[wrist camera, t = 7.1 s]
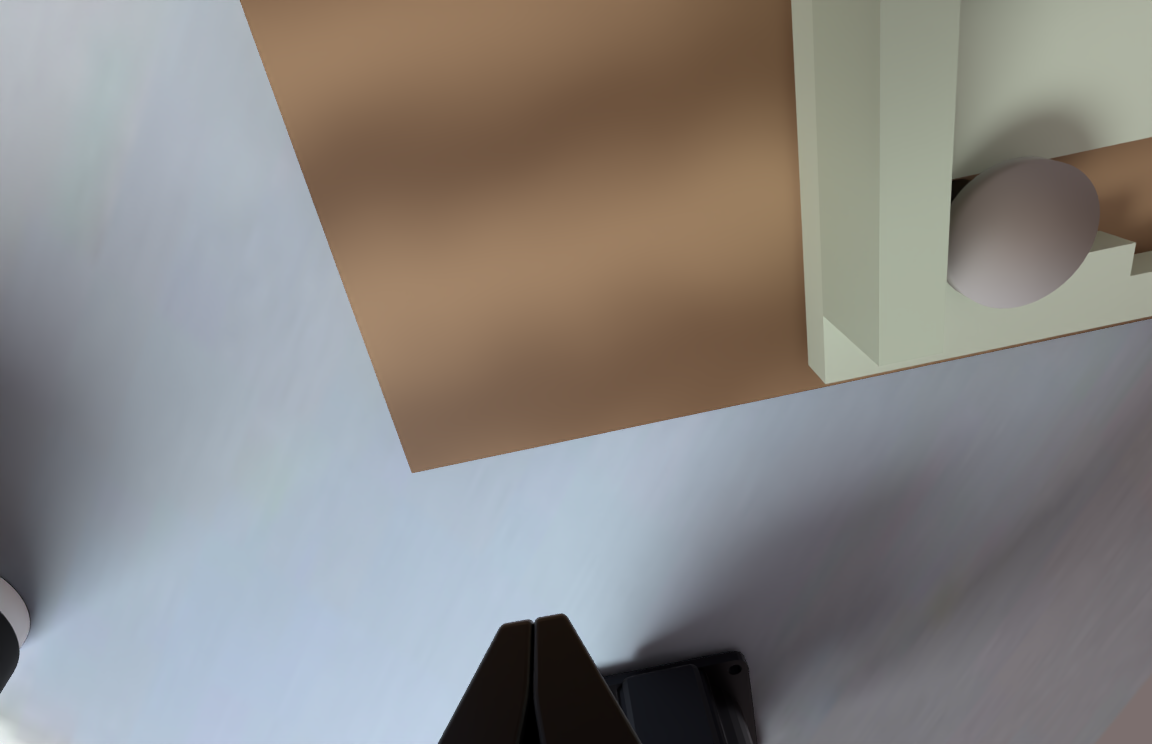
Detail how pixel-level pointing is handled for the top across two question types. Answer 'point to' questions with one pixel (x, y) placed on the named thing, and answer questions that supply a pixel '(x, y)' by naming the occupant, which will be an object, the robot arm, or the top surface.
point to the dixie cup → (11, 630)
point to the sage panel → (951, 163)
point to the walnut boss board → (605, 208)
